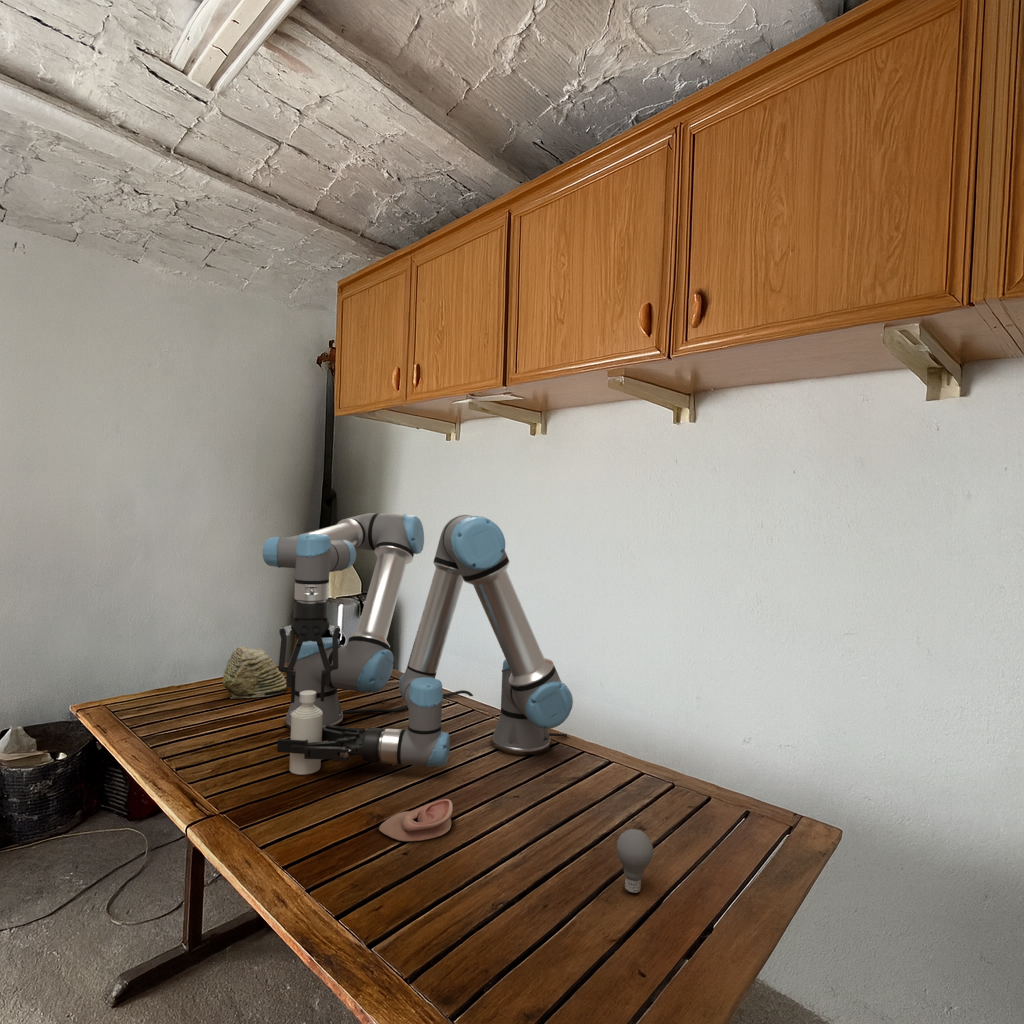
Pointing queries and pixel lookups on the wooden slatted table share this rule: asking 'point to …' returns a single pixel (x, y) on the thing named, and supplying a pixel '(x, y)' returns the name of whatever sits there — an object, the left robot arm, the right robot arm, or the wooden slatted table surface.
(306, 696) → the cap
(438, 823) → the anatomical model
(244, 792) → the wooden slatted table surface
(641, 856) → the light bulb
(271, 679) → the fossil
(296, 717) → the bottle
